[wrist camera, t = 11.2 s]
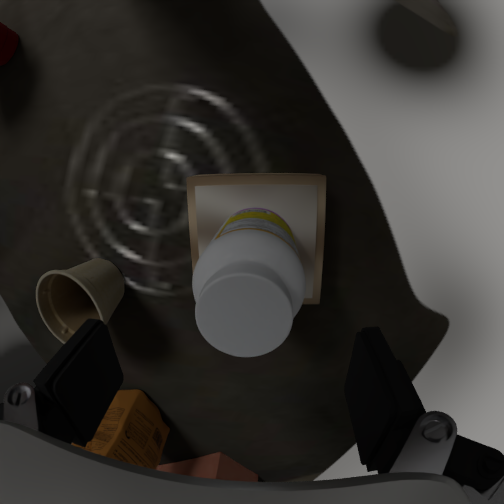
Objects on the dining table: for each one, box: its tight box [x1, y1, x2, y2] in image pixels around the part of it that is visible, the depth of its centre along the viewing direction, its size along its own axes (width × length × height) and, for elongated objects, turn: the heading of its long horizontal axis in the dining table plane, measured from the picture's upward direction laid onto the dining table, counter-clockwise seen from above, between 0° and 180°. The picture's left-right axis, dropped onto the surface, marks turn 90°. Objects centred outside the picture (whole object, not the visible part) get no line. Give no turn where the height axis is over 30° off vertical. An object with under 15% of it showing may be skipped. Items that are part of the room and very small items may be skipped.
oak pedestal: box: [187, 173, 326, 304], centre depth 28 cm, size 12×12×4 cm
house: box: [156, 452, 258, 482], centre depth 40 cm, size 12×20×12 cm, turn 127°
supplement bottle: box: [192, 207, 306, 357], centre depth 20 cm, size 7×7×13 cm
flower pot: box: [36, 258, 124, 344], centre depth 29 cm, size 9×9×9 cm
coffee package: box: [72, 389, 170, 470], centre depth 30 cm, size 10×12×22 cm
